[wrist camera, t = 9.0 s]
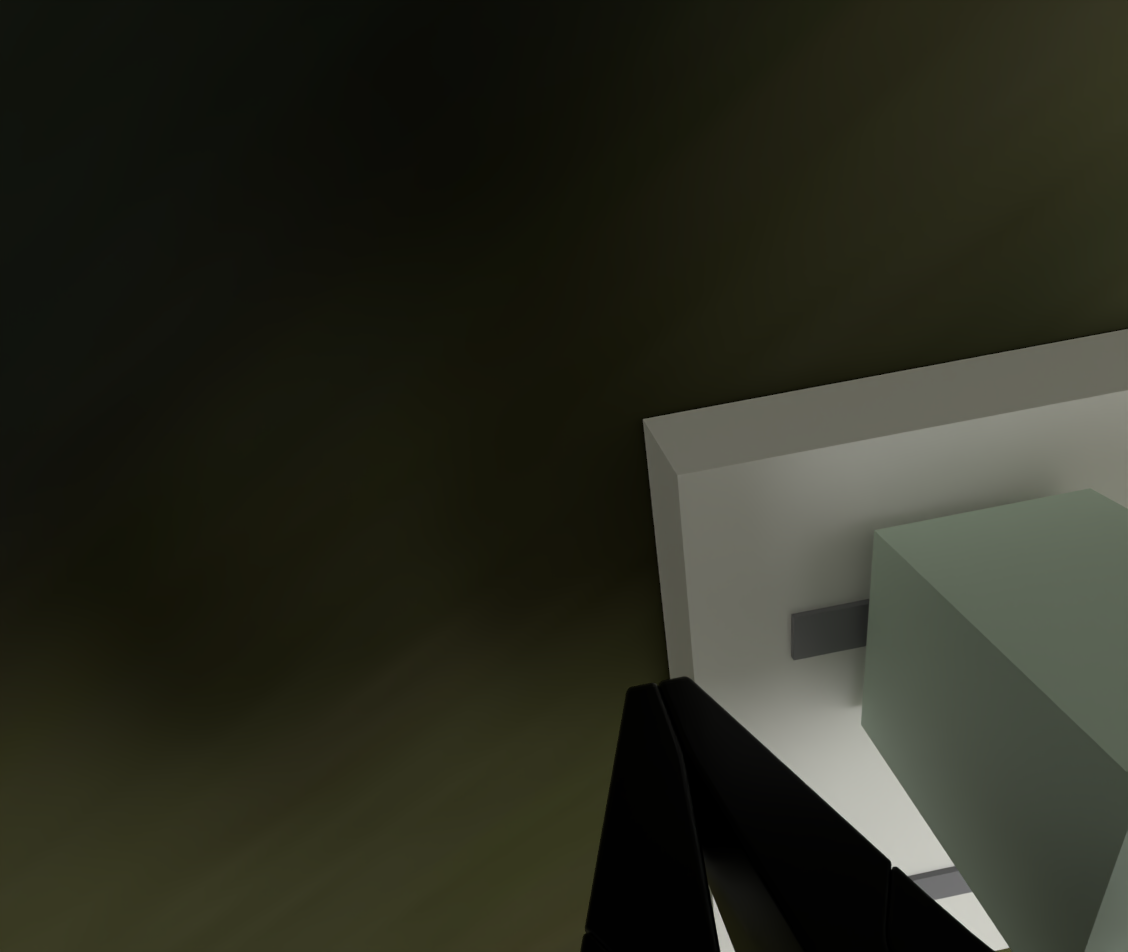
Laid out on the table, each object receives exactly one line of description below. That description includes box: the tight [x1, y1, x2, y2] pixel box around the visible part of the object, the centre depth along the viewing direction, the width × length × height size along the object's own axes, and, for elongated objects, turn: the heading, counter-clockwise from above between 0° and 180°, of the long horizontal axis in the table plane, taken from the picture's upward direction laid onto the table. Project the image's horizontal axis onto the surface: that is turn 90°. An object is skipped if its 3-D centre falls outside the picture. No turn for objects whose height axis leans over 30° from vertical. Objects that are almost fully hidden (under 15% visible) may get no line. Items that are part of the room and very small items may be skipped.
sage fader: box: [861, 488, 1128, 952], centre depth 8 cm, size 4×3×4 cm
